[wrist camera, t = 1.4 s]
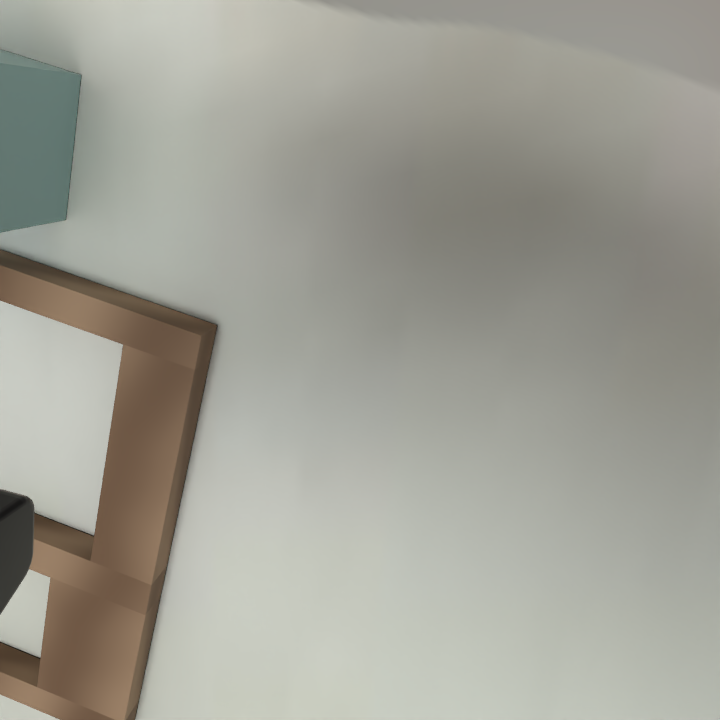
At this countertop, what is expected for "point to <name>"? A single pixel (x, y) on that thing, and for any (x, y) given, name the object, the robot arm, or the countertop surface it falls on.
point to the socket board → (111, 500)
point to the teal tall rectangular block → (35, 140)
